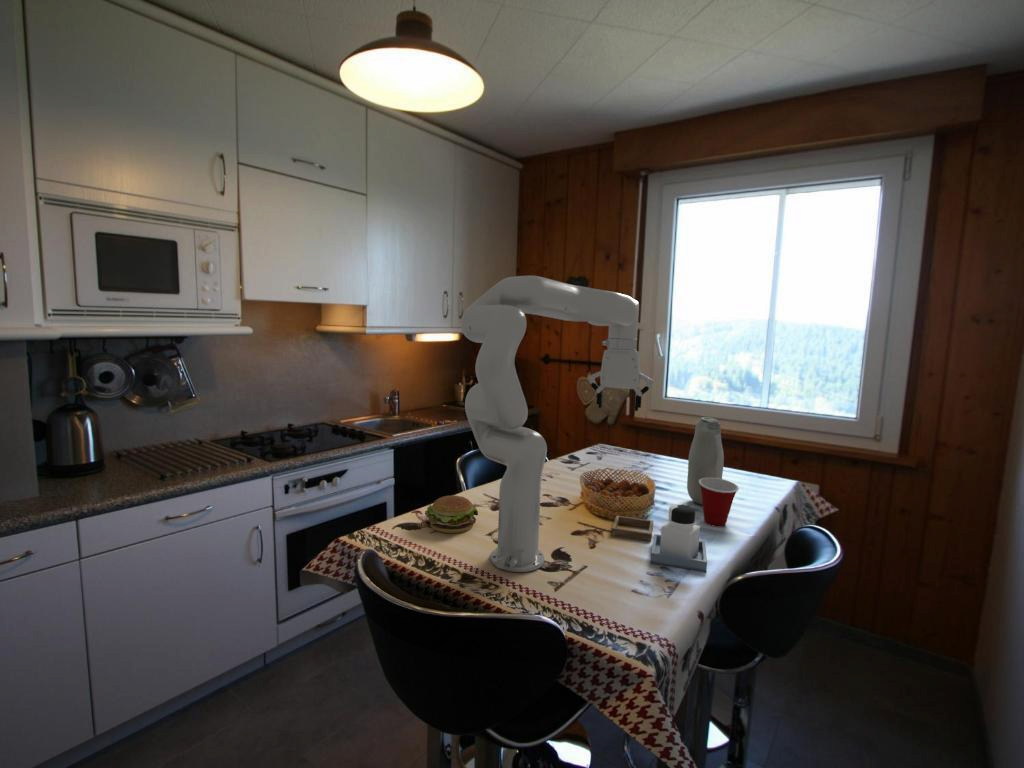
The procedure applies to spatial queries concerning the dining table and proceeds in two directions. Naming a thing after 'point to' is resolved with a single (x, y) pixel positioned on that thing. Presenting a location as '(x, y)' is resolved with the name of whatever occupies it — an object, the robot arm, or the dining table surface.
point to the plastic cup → (717, 499)
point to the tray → (676, 561)
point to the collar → (632, 533)
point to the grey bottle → (704, 456)
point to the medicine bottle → (680, 532)
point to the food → (451, 514)
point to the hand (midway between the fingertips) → (618, 408)
